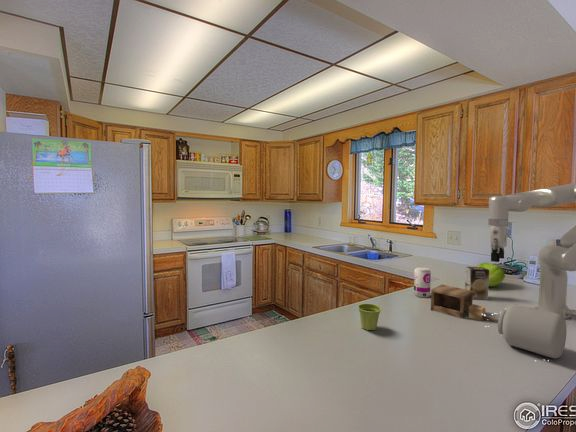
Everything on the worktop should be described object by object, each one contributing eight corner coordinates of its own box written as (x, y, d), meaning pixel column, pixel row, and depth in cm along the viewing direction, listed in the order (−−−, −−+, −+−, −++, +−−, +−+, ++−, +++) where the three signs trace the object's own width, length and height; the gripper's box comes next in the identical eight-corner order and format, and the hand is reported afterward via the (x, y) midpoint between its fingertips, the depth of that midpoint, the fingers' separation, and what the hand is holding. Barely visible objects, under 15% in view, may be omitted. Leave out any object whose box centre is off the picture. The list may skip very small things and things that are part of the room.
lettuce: (501, 297, 172) (471, 294, 183) (509, 280, 187) (481, 279, 198) (496, 272, 171) (466, 271, 182) (505, 258, 186) (477, 257, 197)
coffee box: (469, 299, 162) (470, 269, 161) (464, 295, 168) (465, 266, 167) (488, 299, 161) (489, 269, 160) (481, 296, 167) (483, 266, 166)
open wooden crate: (472, 311, 145) (472, 290, 144) (462, 318, 137) (463, 296, 136) (441, 304, 155) (441, 284, 154) (430, 310, 147) (431, 289, 146)
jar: (547, 357, 94) (466, 318, 115) (552, 379, 101) (475, 339, 122) (575, 311, 99) (492, 282, 120) (578, 335, 106) (500, 304, 127)
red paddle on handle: (518, 326, 129) (518, 312, 128) (515, 329, 125) (516, 315, 125) (472, 314, 141) (472, 301, 141) (468, 317, 138) (469, 304, 137)
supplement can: (433, 296, 166) (434, 269, 165) (421, 298, 163) (422, 270, 162) (421, 292, 174) (422, 266, 173) (410, 294, 171) (411, 267, 170)
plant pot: (380, 324, 130) (381, 304, 130) (381, 334, 121) (381, 312, 121) (358, 322, 133) (358, 302, 132) (357, 331, 124) (357, 310, 123)
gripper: (504, 224, 132) (503, 264, 133) (511, 221, 145) (511, 257, 146) (483, 224, 138) (483, 261, 139) (492, 221, 150) (492, 256, 151)
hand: (497, 259), depth 142 cm, fingers open, 9 cm apart
